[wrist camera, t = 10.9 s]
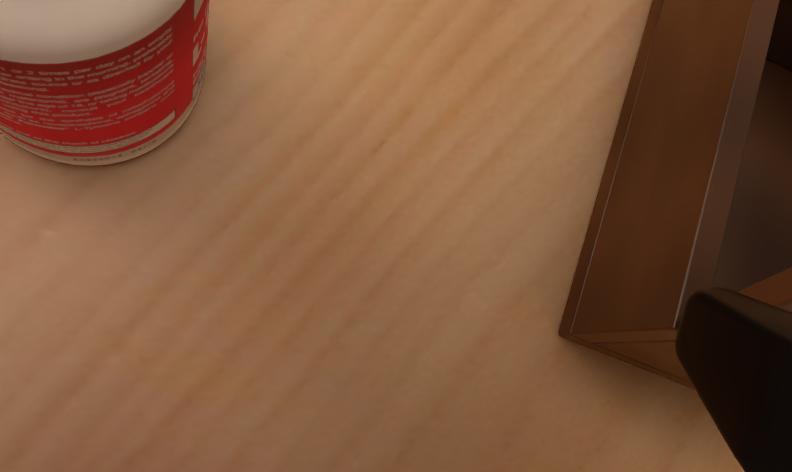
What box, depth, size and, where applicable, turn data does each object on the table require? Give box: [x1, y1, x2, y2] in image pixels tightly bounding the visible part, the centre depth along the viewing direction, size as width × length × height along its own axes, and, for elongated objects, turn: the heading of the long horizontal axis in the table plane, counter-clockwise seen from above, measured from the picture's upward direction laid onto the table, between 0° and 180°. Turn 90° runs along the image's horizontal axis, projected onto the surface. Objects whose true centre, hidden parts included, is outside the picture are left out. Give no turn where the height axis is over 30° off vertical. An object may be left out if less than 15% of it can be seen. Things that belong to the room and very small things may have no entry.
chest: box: [559, 0, 792, 389], centre depth 23 cm, size 13×10×6 cm
